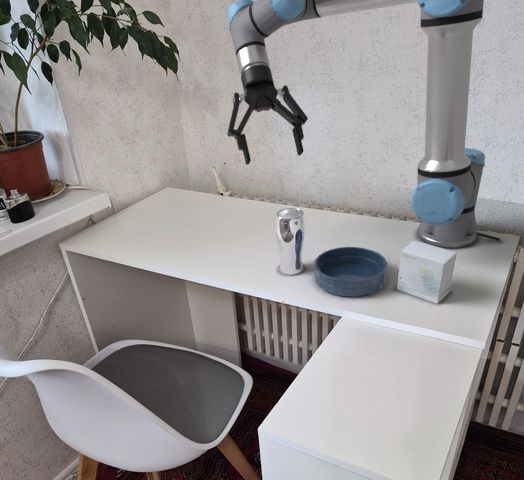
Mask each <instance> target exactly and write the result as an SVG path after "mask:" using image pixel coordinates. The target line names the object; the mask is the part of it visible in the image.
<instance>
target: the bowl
mask: <svg viewBox="0 0 524 480" xmlns="http://www.w3.org/2000/svg"><path fill="white" fill-rule="evenodd" d="M313 270H314V271H313V280H314V282H315V284H316V285H317V287H319V288H320V289H322V290H323V291H325V292H327V293H330V294H333V295H335V296H342V297H361V296H366V295H369V294H372V293H375V292H378V291H379V290H380V289H381V288H383V287H384V286H385V284H386V282H387V274H388V261H387V259H386V258H385V256H383V255H382V254H381V253H379V252H377V251H375V250H372V249H369V248H365V247H359V246H343V247H335V248H330V249H327V250H325V251H323V252H322V253H320V254H318V256H317V257H316V258H315V260H314V263H313Z"/></svg>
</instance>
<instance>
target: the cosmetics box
mask: <svg viewBox="0 0 524 480" xmlns="http://www.w3.org/2000/svg"><path fill="white" fill-rule="evenodd" d="M457 255H458V252H456V251H453V250H449V249H448V248H444V247H437V246H433V245H430V244H428V243H426V242H423V241H419V240H413V241H411V242H410V243H408V245H405V247H403V249H402V250H401V252H400V260H399V267H398V276H397V282H396V290H397V291H400V292H403V293H405V294H409V295H411V296H414V297H418V298H420V299H423V300H426V301H429V302H431V303H434V304H439V303H440V302H442V300H443V299H444V298H445V297H446V296H447V295H448V294H449V293H450V291H451V284H452V279H453V274H454V269H455V264H456V259H457Z"/></svg>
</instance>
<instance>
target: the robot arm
mask: <svg viewBox="0 0 524 480" xmlns="http://www.w3.org/2000/svg"><path fill="white" fill-rule="evenodd" d="M484 1H485V0H255V1H254V0H239V1H235V2H233V3H231V5H230V6H229V8H228V10H227V13H226V15H227V22H228V30H229V33H230V37H231V40H232V44H233V48H234V50H235V51H234V52H235V57H236V61H237V67H238V71H239V74H240V80H241V84H242V88H243V89H242V90H243V93H241V94H239V92H236V91H235V92H234V94H233V96H232V105H233V107H232V110H231V111H232V112H231V115H230V120H229V124H228V128H227V133H226V135H227V137H228V138H230V137H233V138H234V139H235V140H236V145H237V150H238V151H242V153H243V157H244V161H245V165H250V163H251V161H252V160H251V154H250V151H249V147H248V142H247V138H246V135H245V134H246V133H243V132H244V129H245V127H246V125H247V124H248V122H249V120H250V118H251V116H252V114H253V113H254V111H255V112H256V113H260V112H263V111H265V112H266V111H267V112H268V111H270V110H272V111H273V112H276V113H277V114H278V115H279V116H281V117H282V118H283V119H284V120H285V121H286V122H288V123H289V124H290V125H291V126H292V127H293V128H292V129H291V131H292V135H293V139H294V144H295V149H296V153H297V156H299V157H300V156H301V155H303V153H304V152H305V151H304V146H303V142H302V141H303V140H304V138H305V134H304V130H303V126H304V125H305V124H306V123H307V121H308V116H307V115H306V113H305V112H304V110H303V109H302V107H300V105H299V104H298V102H297V101H296V100H295V98H294V97H293V96H292V94H291V93H290V89H289V87H288V86H287V85H286V84H285V85H283V86H282V87H281V88H276V86H275V82H274V78H273V74H272V73H273V72H272V69H271V68H270V66H271V64H270V59H269V55H268V52H267V51H268V50H267V47H266V42H265V39H267V38H268V37H270V36H271V35H272V34H274V33H275V32H277V31H278V30H279V29H281V28H283V27H284V26H288V25H290V24H294V23H298V22H302V21H307V20H308V21H309V20H314V19H320V18H325V17H333V16H339V15H346V14H350V13H356V12H357V13H358V12H362V11H363V12H364V11H369V10H377V9H383V8H388V7H396V6H402V5H403V6H404V5H408V4H409V5H410V4H414V3H417V5H418V7H419V8H420V30H421V31H422V32H423V33H424V34H425V35H426V36H427V61H426V91H425V92H426V95H425V98H426V99H425V126H424V127H425V131H424V138H425V139H424V157H423V158H421V160H420V161H419V162H418V163H417V176H416V177H417V179H416V186H415V188H414V190H413V192H412V194H411V199H410V203H411V204H410V205H411V208H412V211H413V213H414V214H415V216H416V217H417V218H418V219H419V220H420V221H421V222H420V223H419V226H418V230H417V236H418V238H419V239H420V240H421V242H423V243H426V244H429V245H433V246H436V247H440V248H443V249H459V248H464V247H468V246H470V245H472V244H473V243H474V242H475V241H477V237H478V236H479V237H483V238H486V239H490V240H494V241H498V242H500V240H501V238H500V237H496V236H494V235H490V234H486V233H482V232H478V227H477V219H476V213H475V210H476V205H477V200H478V196H479V191H480V186H481V180H482V175H483V171H484V167H485V166H486V163H485V161H486V155H485V153H484V152H483V151H481V150H479V149H476V148H468V147H466V139H467V138H466V137H467V126H468V125H467V124H468V110H469V109H468V108H469V96H470V80H471V79H470V78H471V69H472V68H471V66H472V53H473V39H474V38H473V37H474V30H475V28H476V27H477V26H478V25H479V24H480V23H481V22H482V20H483V15H484V5H485V3H484ZM278 96H279V97H280V99H282V100H283V102H284V103H285V105H286V106H287V107H288V108H287V107H286V106H285V105H284V104H283V103H282V102H281V101H280V100H279V99H278V98H277V97H278ZM243 101H244V102H245V103H246V104H247V105H248V107H247V110H246V111H245V113H244V115H243V117H242V119H241V121H240V123H239V125H238V127H237V129H235V126H236V122H237V118H238V113H239V108H240V105H242V103H243Z"/></svg>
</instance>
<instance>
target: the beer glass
mask: <svg viewBox="0 0 524 480" xmlns="http://www.w3.org/2000/svg"><path fill="white" fill-rule="evenodd" d="M275 218H276V220H275V235H276V241H277V245H278V250H279V254H280V255H279V256H280V262H279V271H280V273H282V274H283V275H289V276H292V275H293V276H294V275H298V274H300V273H302V272H303V271H304V265H303V259H302V258H303V257H302V256H303V255H302V254H303V247H304V242H305V233H306V227H305V223H306V222H305V212H304V210H302V209H300V208H296V207H287V208H282V209H280V210H278V211H277V212H276V217H275Z"/></svg>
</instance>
